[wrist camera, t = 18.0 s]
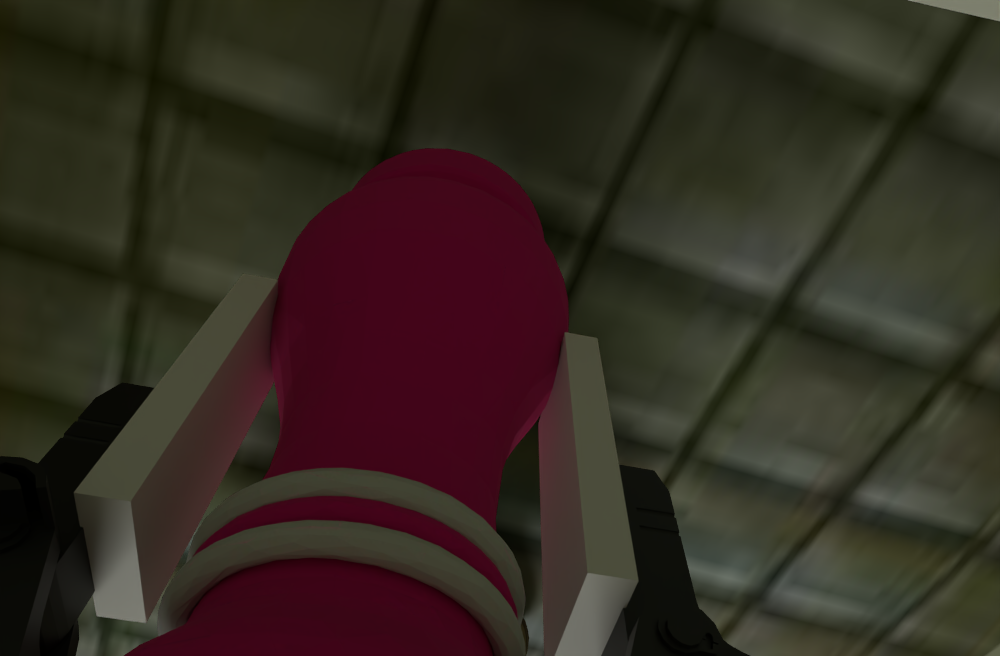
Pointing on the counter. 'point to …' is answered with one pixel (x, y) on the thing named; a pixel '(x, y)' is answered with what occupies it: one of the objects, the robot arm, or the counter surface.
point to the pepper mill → (387, 429)
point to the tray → (968, 7)
